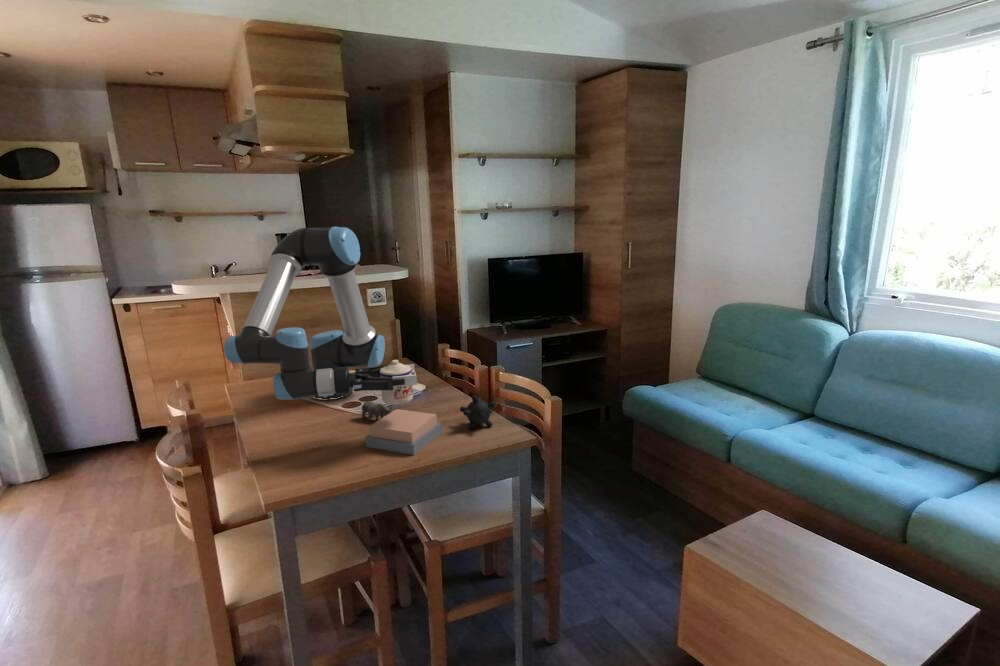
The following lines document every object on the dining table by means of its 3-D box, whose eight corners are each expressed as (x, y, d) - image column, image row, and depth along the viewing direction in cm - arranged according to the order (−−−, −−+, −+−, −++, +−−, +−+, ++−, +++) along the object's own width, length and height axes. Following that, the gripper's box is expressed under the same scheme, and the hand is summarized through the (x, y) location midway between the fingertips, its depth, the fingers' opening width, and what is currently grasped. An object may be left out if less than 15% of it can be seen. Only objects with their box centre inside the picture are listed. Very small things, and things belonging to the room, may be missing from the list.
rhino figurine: (392, 426, 164) (390, 408, 163) (359, 419, 171) (357, 402, 169) (400, 421, 168) (399, 404, 166) (367, 415, 174) (366, 397, 173)
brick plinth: (397, 425, 165) (395, 407, 163) (442, 432, 159) (441, 413, 157) (365, 446, 150) (364, 427, 149) (414, 455, 144) (412, 434, 143)
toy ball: (509, 417, 161) (481, 419, 152) (488, 434, 166) (460, 437, 158) (495, 388, 166) (467, 388, 157) (475, 406, 171) (447, 407, 162)
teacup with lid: (397, 407, 145) (393, 366, 142) (374, 401, 150) (371, 362, 148) (427, 394, 154) (425, 356, 152) (405, 389, 160) (403, 352, 157)
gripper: (338, 382, 158) (413, 375, 162) (332, 408, 137) (419, 399, 141) (336, 358, 156) (412, 351, 161) (329, 380, 135) (417, 372, 139)
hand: (415, 374), depth 151 cm, fingers closed on teacup with lid, 10 cm apart
